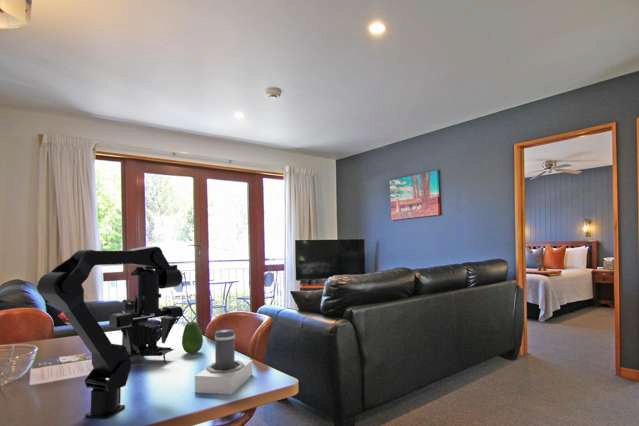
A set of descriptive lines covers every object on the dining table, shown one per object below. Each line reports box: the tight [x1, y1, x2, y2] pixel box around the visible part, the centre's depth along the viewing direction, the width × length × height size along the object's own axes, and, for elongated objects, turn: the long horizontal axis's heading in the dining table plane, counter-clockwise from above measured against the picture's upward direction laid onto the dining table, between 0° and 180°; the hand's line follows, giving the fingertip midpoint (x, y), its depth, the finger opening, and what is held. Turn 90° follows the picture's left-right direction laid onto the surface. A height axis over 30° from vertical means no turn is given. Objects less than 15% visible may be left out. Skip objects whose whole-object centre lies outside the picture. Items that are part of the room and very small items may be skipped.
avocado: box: [181, 321, 204, 355], centre depth 146 cm, size 8×8×12 cm
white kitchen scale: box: [194, 358, 254, 395], centre depth 113 cm, size 16×11×5 cm
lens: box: [214, 329, 236, 370], centre depth 113 cm, size 6×6×14 cm
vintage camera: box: [121, 311, 175, 363], centre depth 137 cm, size 10×16×20 cm, turn 78°
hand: (147, 346), depth 107 cm, fingers open, 9 cm apart
